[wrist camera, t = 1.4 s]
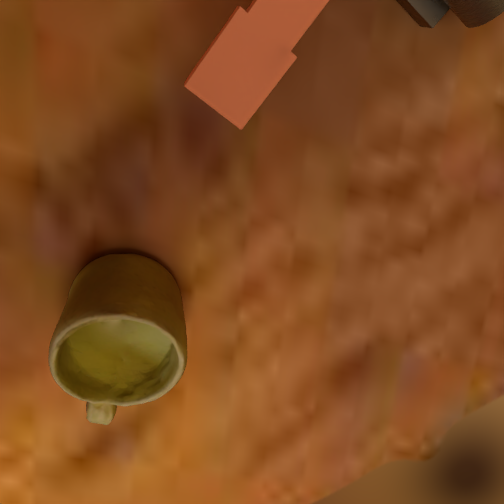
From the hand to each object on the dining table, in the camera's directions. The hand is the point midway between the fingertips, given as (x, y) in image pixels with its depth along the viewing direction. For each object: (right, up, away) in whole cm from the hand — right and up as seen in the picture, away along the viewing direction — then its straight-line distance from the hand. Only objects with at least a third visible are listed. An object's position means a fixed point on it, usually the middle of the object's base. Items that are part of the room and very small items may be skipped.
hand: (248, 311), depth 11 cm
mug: (-11, -4, +30) cm, 32 cm away
